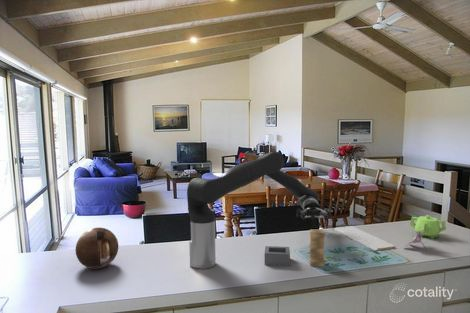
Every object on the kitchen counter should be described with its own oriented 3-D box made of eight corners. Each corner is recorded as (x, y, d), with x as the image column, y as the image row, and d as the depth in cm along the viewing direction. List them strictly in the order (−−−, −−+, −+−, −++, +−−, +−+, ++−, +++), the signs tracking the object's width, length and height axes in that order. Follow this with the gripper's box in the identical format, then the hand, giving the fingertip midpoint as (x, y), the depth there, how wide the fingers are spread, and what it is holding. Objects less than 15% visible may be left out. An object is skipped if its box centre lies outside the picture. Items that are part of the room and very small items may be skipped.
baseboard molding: (371, 252, 150) (395, 249, 153) (372, 245, 150) (395, 243, 153) (331, 231, 179) (351, 228, 183) (331, 225, 179) (351, 223, 183)
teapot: (408, 232, 174) (408, 213, 173) (428, 231, 176) (429, 211, 175) (425, 240, 162) (426, 219, 162) (447, 239, 165) (448, 218, 164)
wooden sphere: (77, 262, 139) (75, 225, 138) (118, 257, 145) (116, 221, 143) (75, 278, 125) (73, 236, 124) (120, 271, 131) (118, 231, 129)
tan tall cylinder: (310, 265, 135) (310, 232, 134) (309, 262, 139) (310, 229, 137) (323, 266, 135) (324, 232, 133) (322, 262, 138) (323, 229, 137)
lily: (422, 245, 159) (411, 226, 160) (444, 243, 148) (431, 222, 150) (404, 258, 154) (393, 238, 156) (425, 257, 144) (413, 235, 145)
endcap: (264, 264, 136) (264, 253, 136) (265, 257, 144) (265, 245, 144) (289, 266, 135) (289, 254, 134) (289, 258, 143) (289, 246, 142)
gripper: (295, 199, 163) (297, 208, 147) (327, 199, 161) (332, 209, 145) (295, 215, 164) (297, 226, 148) (327, 216, 162) (332, 227, 146)
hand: (314, 217), depth 146 cm, fingers open, 8 cm apart
